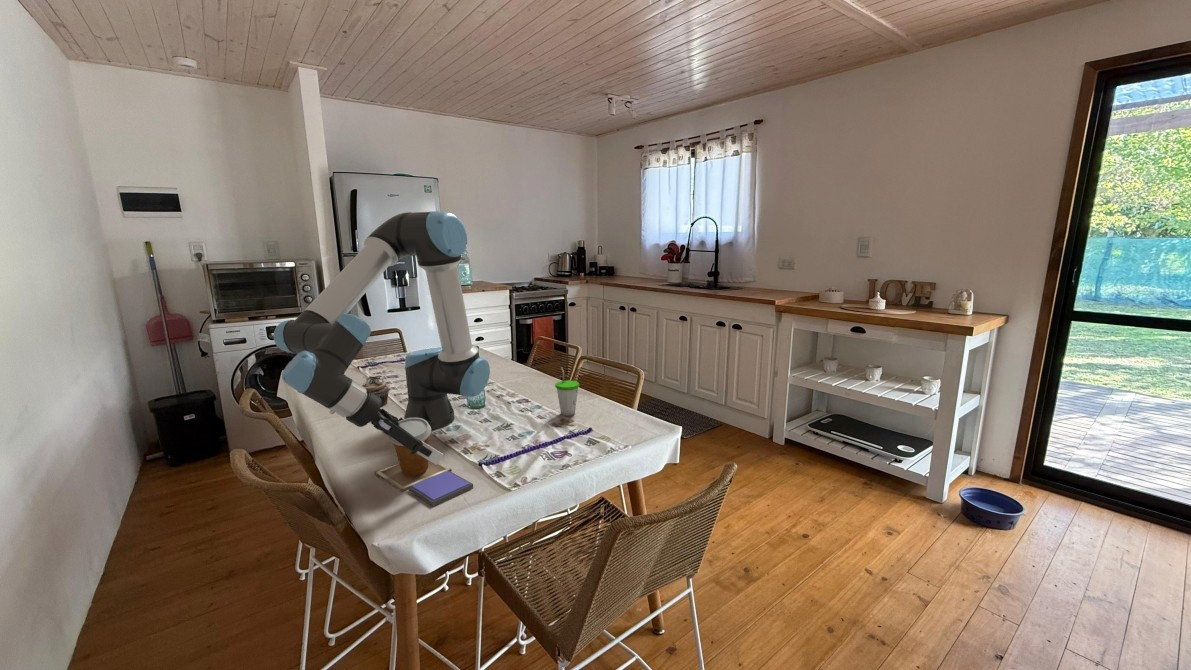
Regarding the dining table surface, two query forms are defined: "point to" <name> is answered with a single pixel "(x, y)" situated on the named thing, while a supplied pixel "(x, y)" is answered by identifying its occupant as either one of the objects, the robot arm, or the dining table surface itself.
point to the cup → (567, 395)
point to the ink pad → (440, 487)
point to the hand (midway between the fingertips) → (429, 449)
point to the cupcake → (377, 388)
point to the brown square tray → (403, 481)
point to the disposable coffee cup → (409, 462)
